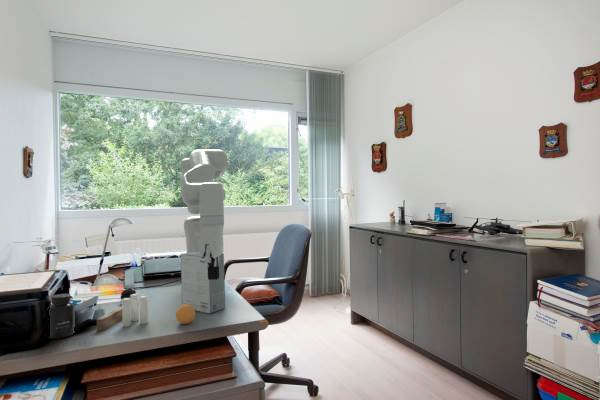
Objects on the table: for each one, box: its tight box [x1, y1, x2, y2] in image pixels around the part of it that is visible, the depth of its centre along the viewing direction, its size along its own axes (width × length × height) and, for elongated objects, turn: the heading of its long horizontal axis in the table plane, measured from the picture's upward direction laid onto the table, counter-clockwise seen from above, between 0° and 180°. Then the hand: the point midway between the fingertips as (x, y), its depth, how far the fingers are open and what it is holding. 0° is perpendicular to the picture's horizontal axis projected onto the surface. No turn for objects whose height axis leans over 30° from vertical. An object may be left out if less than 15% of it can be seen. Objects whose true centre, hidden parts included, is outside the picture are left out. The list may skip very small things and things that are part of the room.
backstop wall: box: [96, 305, 122, 332], centre depth 121 cm, size 14×2×4 cm, turn 175°
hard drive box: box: [180, 252, 226, 314], centre depth 135 cm, size 16×8×20 cm, turn 56°
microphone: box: [120, 288, 137, 301], centre depth 151 cm, size 6×6×20 cm
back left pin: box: [121, 298, 132, 328], centre depth 118 cm, size 2×2×8 cm
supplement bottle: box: [49, 293, 75, 340], centre depth 111 cm, size 7×7×12 cm
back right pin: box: [130, 293, 140, 322], centre depth 123 cm, size 2×2×8 cm
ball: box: [175, 304, 196, 325], centre depth 119 cm, size 6×6×6 cm
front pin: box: [138, 295, 149, 325], centre depth 121 cm, size 2×2×8 cm
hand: (213, 278), depth 118 cm, fingers closed
